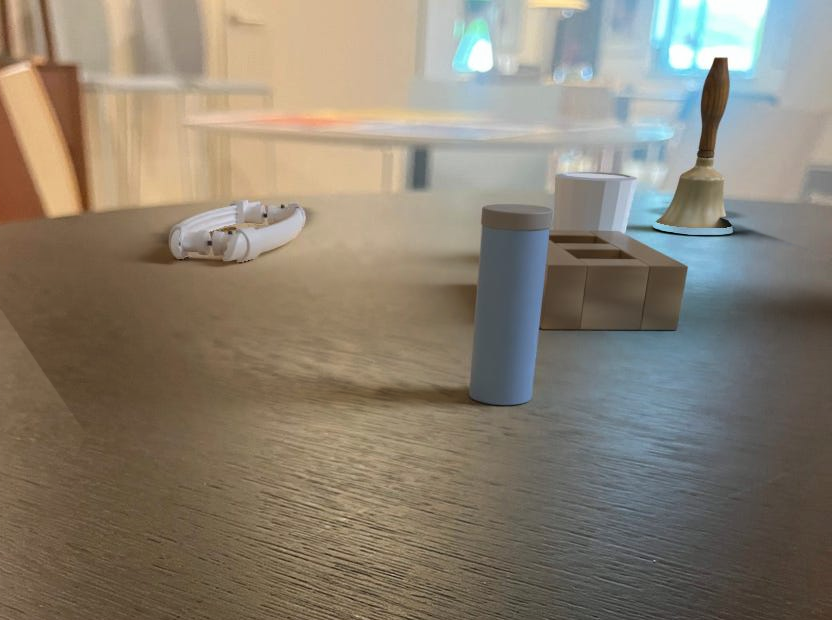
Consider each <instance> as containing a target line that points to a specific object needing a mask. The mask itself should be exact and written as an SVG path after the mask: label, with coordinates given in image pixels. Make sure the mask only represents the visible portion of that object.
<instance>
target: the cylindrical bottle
mask: <svg viewBox="0 0 832 620" xmlns="http://www.w3.org/2000/svg"><path fill="white" fill-rule="evenodd" d="M553 214H554V210H553V209H552V208H550V207H546V206H542V205H535V204H523V203H522V204H519V203H498V204H488V205H484V206H482V207H481V218H480V224H481V231H480V232H481V233H480V246H479V257H478V271H477V272H478V273H477V285H476V296H475V298H476V299H475V311H474V324H473V336H472V337H473V338H472V350H471V351H472V352H471V361H470V363H471V365H470V376H469V390H468V395H469V397H470V398H471V400H474V401H477V402H480V403H483V404H487V405H494V406H517V405H522V404H525V403H528V402H530V401H531V399H532V397H533V388H534V379H535V369H536V361H537V352H538V343H539V331H540V327H539V324H540V315H541V305H542V296H543V287H544V277H545V268H546V259H547V249H548V240H549V231H550V230H551V227H552V221H553V220H552V219H553Z"/></svg>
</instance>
